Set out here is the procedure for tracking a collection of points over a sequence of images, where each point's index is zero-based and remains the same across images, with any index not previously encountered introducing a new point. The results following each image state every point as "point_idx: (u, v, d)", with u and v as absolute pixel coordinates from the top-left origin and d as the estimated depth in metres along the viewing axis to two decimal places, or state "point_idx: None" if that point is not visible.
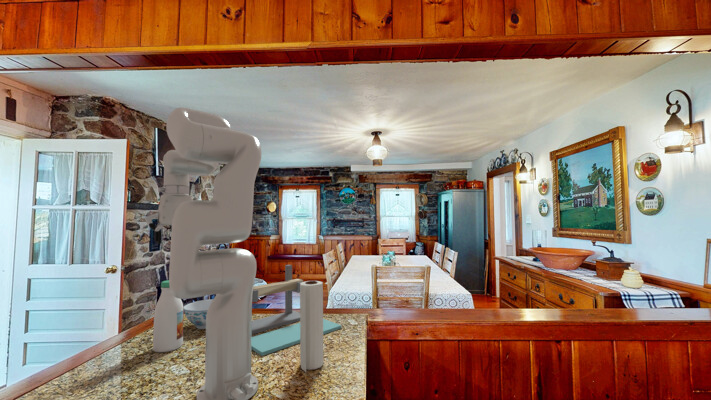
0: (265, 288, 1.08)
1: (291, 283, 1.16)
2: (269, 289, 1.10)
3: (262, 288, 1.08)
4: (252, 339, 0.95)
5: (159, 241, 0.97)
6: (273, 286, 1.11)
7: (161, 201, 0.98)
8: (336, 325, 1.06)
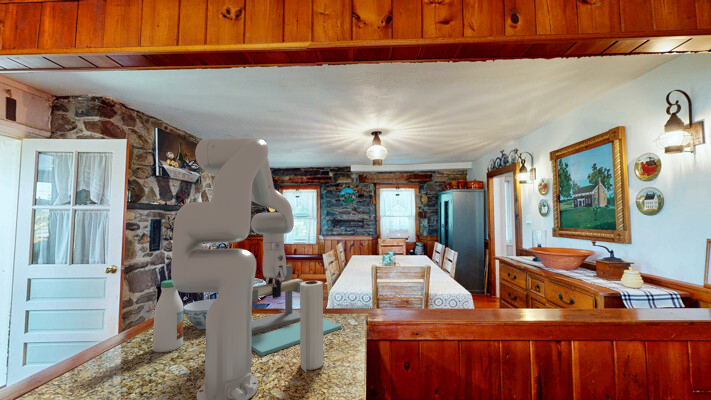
0: (265, 288, 1.08)
1: (291, 283, 1.16)
2: (269, 289, 1.10)
3: (262, 288, 1.08)
4: (252, 339, 0.95)
5: None
6: (273, 286, 1.11)
7: (284, 256, 1.11)
8: (336, 325, 1.06)
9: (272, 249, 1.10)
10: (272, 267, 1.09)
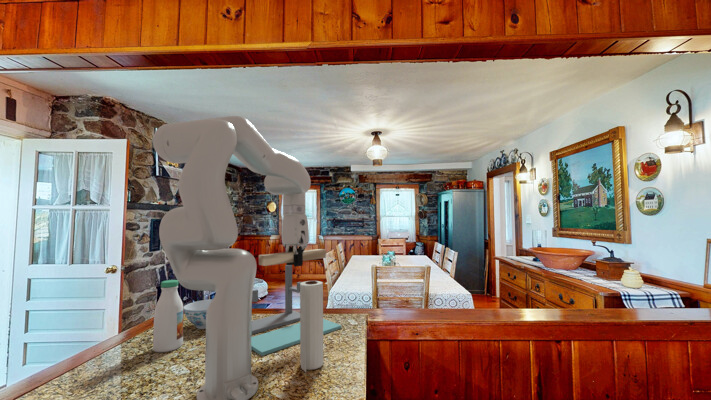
0: (286, 255, 0.98)
1: (313, 252, 1.05)
2: (291, 257, 0.99)
3: (283, 255, 0.97)
4: (252, 339, 0.95)
5: None
6: None
7: (306, 221, 1.00)
8: (336, 325, 1.06)
9: (293, 212, 0.99)
10: (293, 232, 0.99)
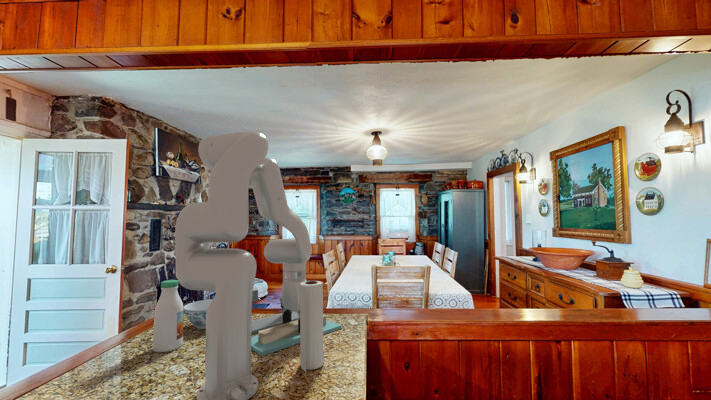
0: (286, 329, 0.96)
1: None
2: (291, 330, 0.97)
3: (283, 329, 0.95)
4: (252, 339, 0.95)
5: None
6: (294, 326, 0.98)
7: None
8: (336, 325, 1.06)
9: (293, 279, 0.98)
10: (294, 300, 0.97)
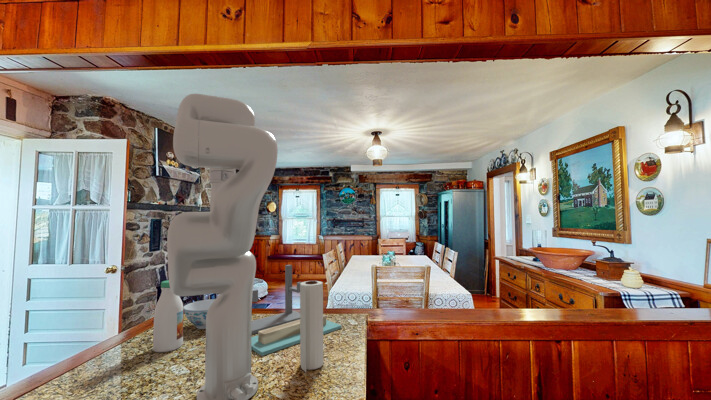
0: (286, 329, 0.96)
1: None
2: (291, 330, 0.97)
3: (283, 329, 0.95)
4: (252, 339, 0.95)
5: None
6: (294, 326, 0.98)
7: None
8: (336, 325, 1.06)
9: (219, 179, 0.91)
10: None
